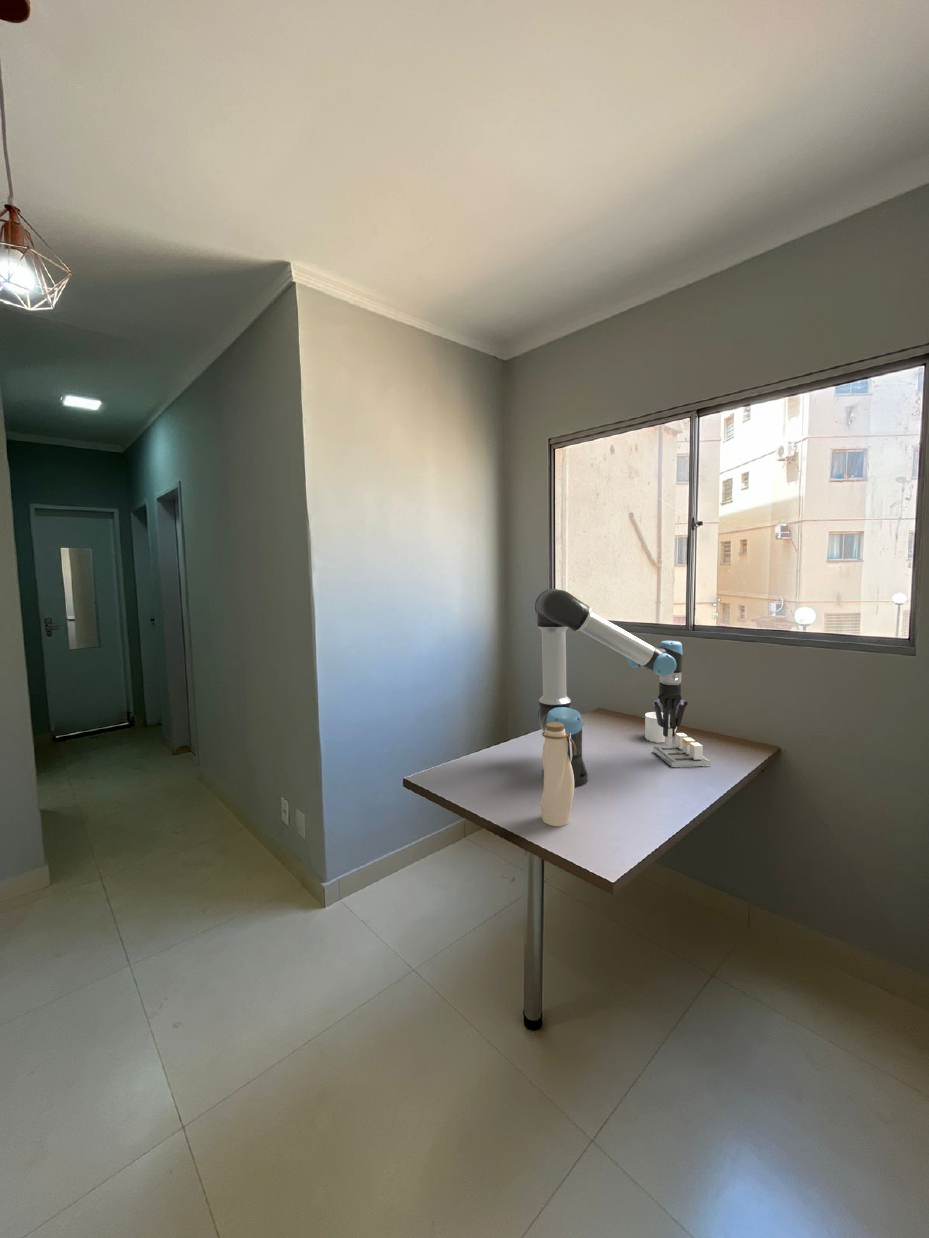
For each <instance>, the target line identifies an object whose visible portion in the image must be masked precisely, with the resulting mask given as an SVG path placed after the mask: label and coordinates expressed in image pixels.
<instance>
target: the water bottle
mask: <svg viewBox="0 0 929 1238" xmlns="http://www.w3.org/2000/svg"><path fill="white" fill-rule="evenodd" d="M541 736H542V737H544V742H543V746H542V753H541V759H542V765H543V766H542V767H543V769H544V779H543V792H542V798H541V801H540V814H541V819H542V822H544V823H545V824H546V825H549V826H552V827H563V826H566V825H568V824H569V823H570V816H571V811H572V806H573V802H574V796H575V787H574V774H573V769H572V765H571V762H570V759H569V756H568V741H567V738H568V739H569V743H570V757H571V760H572V745H571V742H572V744H573V746H574V755H576V746H575V743H574V742H573V740H572V739H571V732H570V737H569V736H568V734H567V733H566V732H565V729H564V724H563V723H560V722H549V723H547V724H546V729H545V731H542V733H541ZM566 737H567V738H566Z"/></svg>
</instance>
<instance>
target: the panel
mask: <svg viewBox="0 0 929 1238" xmlns="http://www.w3.org/2000/svg"><path fill="white" fill-rule="evenodd" d="M652 752H653V754H655V753H656V754H657V755H658V756H660V757H661V758H660V757H659V758H660V759H661V760H662V761H663V760H664V761H665V762H664V761H663V762H664V763H665V764H667V763H668V764H669V765H670V766H671V767H670V766H669V765H668V764H667V765H668V766H669V767H670V768H672V767H680V768H692V767H691V766H703V765H704V766H703V767H707V766H706V765H710V766H711V760H710V759H708V758H707V757H706V756H704V755H703V759H698V760H694V759H693V758H691V757H690V756H689V754H686V753H685V752H683V751H682V749H679V748H678V747H676V746H675V745H674V746H673V745H672V746H667V745H666V746H653V747H652ZM656 754H655V755H656ZM657 755H656V756H657Z"/></svg>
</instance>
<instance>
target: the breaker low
mask: <svg viewBox="0 0 929 1238" xmlns="http://www.w3.org/2000/svg"><path fill="white" fill-rule="evenodd" d="M703 749H704V745H703V744H701V743H699V742H696V741H695V743H690V753H689V756H690V757H691V758H693V759H694V760H698V759H703V756H704V754H703V753H704V750H703Z"/></svg>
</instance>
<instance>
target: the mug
mask: <svg viewBox="0 0 929 1238" xmlns="http://www.w3.org/2000/svg"><path fill="white" fill-rule="evenodd" d="M661 714H662V719H663V712H661ZM644 716H645V717H644V729H645V730H644V738H646V739H649V740H651V741H656V742H665V736H663V727H661V726H659V725H658V722H657V717H656V713H655V711H651V712H650V711H649V712H646V713H645V715H644ZM669 719H670V714H669ZM669 727H670V726H669ZM677 729H678V727H676V729H675V733H677V732H676V731H677ZM646 739H645V740H646Z"/></svg>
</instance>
